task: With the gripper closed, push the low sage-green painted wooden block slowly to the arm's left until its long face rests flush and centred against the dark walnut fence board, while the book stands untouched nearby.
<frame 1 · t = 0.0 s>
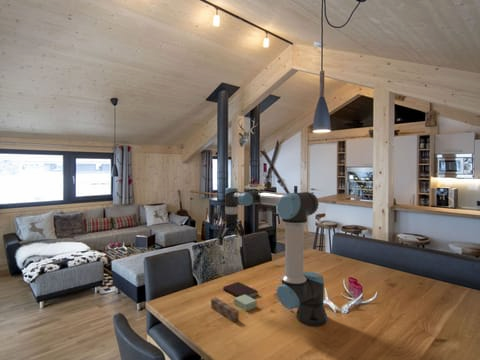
hand: (231, 248, 178), 28 cm above the table, fingers open, 13 cm apart
board: (224, 313, 154), on the table
block: (245, 306, 163), on the table
book: (240, 293, 181), on the table
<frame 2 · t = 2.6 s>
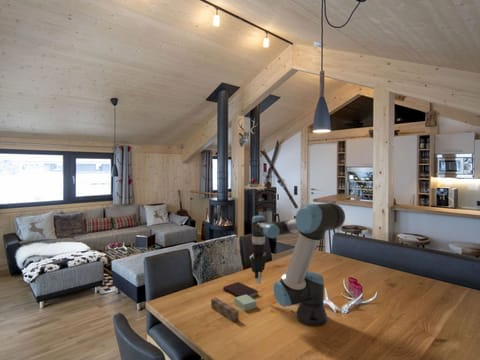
hand: (258, 283, 170), 10 cm above the table, fingers closed
nothing on the table moved.
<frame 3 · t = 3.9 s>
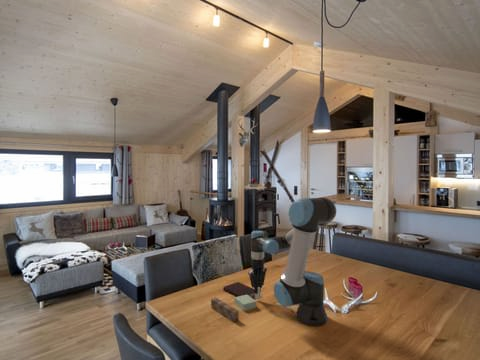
hand: (257, 298, 169), 1 cm above the table, fingers closed
nothing on the table moved.
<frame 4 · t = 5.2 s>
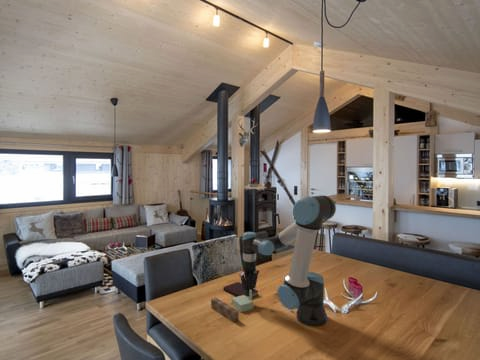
hand: (249, 301, 166), 2 cm above the table, fingers closed
block: (242, 307, 162), on the table
everything else where it was.
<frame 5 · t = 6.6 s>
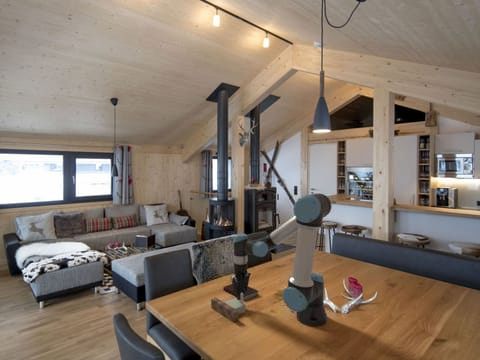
hand: (240, 304, 161), 1 cm above the table, fingers closed
block: (233, 310, 158), on the table
everything else where it was.
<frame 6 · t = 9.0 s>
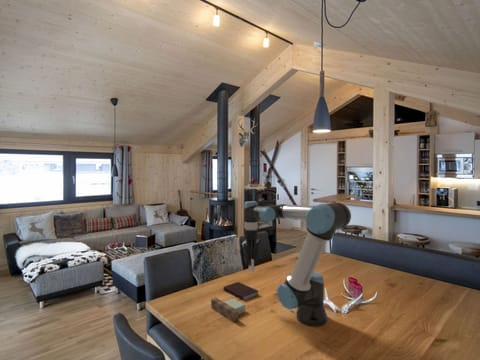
hand: (251, 270, 165), 19 cm above the table, fingers closed
nothing on the table moved.
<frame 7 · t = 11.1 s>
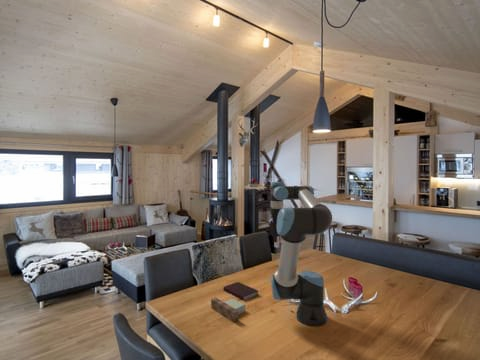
hand: (276, 247, 175), 29 cm above the table, fingers closed
nothing on the table moved.
at the end: block inside the target area on the table beside the board (0.4 cm from its centre), on the table; block tilted 0° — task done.
